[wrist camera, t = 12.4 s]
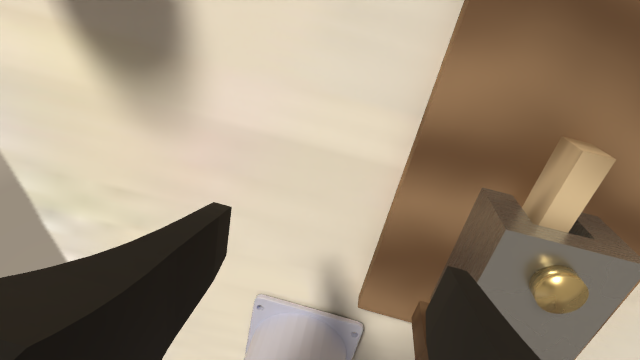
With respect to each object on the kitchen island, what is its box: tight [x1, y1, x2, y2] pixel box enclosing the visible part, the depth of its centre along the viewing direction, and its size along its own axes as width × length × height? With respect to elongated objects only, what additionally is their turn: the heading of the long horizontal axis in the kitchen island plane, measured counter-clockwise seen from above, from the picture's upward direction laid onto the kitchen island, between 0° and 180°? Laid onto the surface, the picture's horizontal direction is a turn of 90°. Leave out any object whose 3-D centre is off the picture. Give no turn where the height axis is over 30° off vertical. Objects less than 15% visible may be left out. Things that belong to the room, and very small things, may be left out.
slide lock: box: [430, 187, 640, 360], centre depth 18 cm, size 8×6×5 cm
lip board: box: [358, 0, 640, 360], centre depth 17 cm, size 22×14×4 cm, turn 168°
